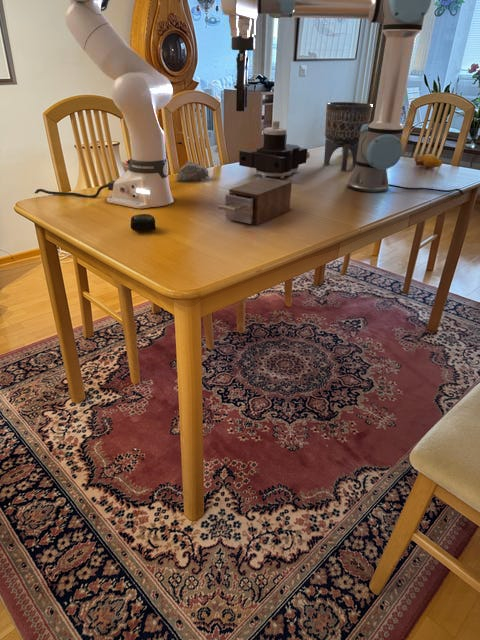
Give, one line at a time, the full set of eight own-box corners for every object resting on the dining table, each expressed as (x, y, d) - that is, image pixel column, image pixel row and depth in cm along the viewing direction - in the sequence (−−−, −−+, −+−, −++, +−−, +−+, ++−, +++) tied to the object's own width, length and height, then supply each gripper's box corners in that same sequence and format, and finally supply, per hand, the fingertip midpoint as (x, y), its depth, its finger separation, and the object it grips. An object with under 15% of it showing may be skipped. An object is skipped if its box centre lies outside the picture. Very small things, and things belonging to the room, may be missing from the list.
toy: (416, 161, 206) (411, 154, 219) (419, 175, 209) (413, 167, 222) (442, 153, 203) (435, 147, 216) (444, 167, 206) (437, 160, 219)
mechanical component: (240, 120, 182) (283, 115, 202) (239, 174, 192) (280, 164, 212) (283, 126, 170) (325, 120, 190) (280, 183, 180) (320, 171, 200)
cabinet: (256, 225, 136) (257, 194, 131) (228, 218, 140) (229, 189, 136) (289, 209, 150) (291, 181, 145) (263, 204, 155) (264, 177, 150)
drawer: (238, 229, 129) (239, 204, 126) (213, 222, 134) (213, 198, 130) (282, 209, 147) (283, 187, 143) (258, 204, 151) (259, 182, 148)
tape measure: (131, 234, 126) (129, 221, 124) (132, 226, 132) (131, 213, 130) (155, 233, 127) (154, 220, 125) (156, 225, 133) (155, 213, 131)
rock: (201, 174, 189) (200, 158, 186) (213, 179, 184) (213, 162, 180) (174, 179, 182) (173, 162, 178) (186, 184, 176) (186, 167, 173)
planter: (313, 167, 208) (319, 103, 195) (331, 160, 222) (338, 101, 209) (353, 173, 199) (362, 107, 185) (369, 166, 213) (379, 104, 199)
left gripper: (242, -20, 125) (241, 39, 132) (215, -32, 109) (216, 36, 116) (264, -21, 124) (261, 39, 131) (240, -33, 107) (239, 36, 114)
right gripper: (234, 37, 155) (234, 105, 166) (227, 34, 134) (227, 112, 144) (256, 37, 155) (254, 106, 165) (253, 34, 133) (250, 113, 144)
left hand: (240, 37), depth 123 cm, fingers open, 8 cm apart
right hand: (241, 109), depth 155 cm, fingers open, 13 cm apart
